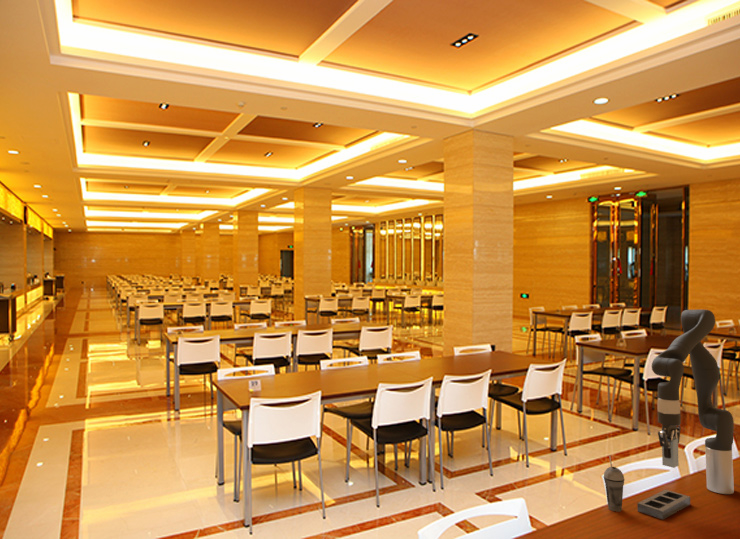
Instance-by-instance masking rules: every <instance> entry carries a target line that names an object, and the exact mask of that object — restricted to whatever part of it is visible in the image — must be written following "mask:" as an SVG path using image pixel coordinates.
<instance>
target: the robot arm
mask: <svg viewBox="0 0 740 539" xmlns="http://www.w3.org/2000/svg"><path fill="white" fill-rule="evenodd" d="M680 323H681V327H682V332H683V333H682V334H681V335H679V336H677V337H676V338H675V339H674V340H673V341H672V342H671V344H670V345H669V346H668V347H667V349H666V350H664V351H663V352H661V353H659V354H658V355H657V356H656V357H655V358H654V359H653V360H652V363H651V370H652V372H653V373H654V374H655V375H657V376H660V377H667V378H669V380H668V381H665V382H663V381H662V382H659V383H658V384H657V403H656V404H657V406H656V407H657V422H658V423H659V424H661V425H662V426H661V431H658V432H657V436H658V441H659V444H660V447H661V448H662V447H664V457H665V458H671V442H672V440H673V438H674V439H678V444H680V437H681V427H679V426H680V425H681V423H682V422H681V420H682V418H681V417H682V416H681V415H682V414H681V403H680V385H681V381H682V378H683V375H684V372H685V367H684V362H685V361H686V359H687V358H688V357H689V359H690V365H691V373H692V377H693V380H694V386H695V392H696V400H697V414H698V418H699V423H700V425H701V426H702V427H703V428H704V429H708V430H711V431H715V432H716V434H715V437H708V438H706V439H705V440H704V444H705V445H704V448H705V449H704V450H705V451H704V453H705V474H706V476H705V477H706V489H707V490H709V491H711V492H714V493H716V494H717V493H718V494H723V495H732V494H734V492H735V487H734V486H735V485H734V464H733V463H734V462H733V460H734V459H733V443H734V432H735V430H734V426H735V422H734V417H733V414H732V413H731V412H730V411H729V410H727V409H722V408H718V407H714V405H713V393H714V391H715V389H716V387H717V385H718V383H719V381H720V379H721V378H720V371H719V366H718V362H717V360H716V358H715V357H714V356H713V355H712V353H711V352H710V351H709V350H708V349H707V348H706V347H705V346H704V344H703V343H702V340H703V339H704V338H705V337H707V336H708V335H709V334H710V333H711V332H712V330H713V329H714V327H715V325H716V317H715V314H714V313H713V311H712V310H710V309H685V310H682V312H681V315H680ZM667 438H668V439H669V440H668V439H667ZM662 441H663V442H662Z"/></svg>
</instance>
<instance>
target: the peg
mask: <svg viewBox="0 0 740 539" xmlns="http://www.w3.org/2000/svg"><path fill="white" fill-rule="evenodd" d="M667 439H668V438H667ZM668 440H669V439H668ZM662 442H663V441H662ZM661 454H662V456H661V457H662V458H661V459H662V462H661V463H662V466H664V467H665V466H666V467H668V468H674V469H675V468H676V467H679V465H680V463H679V443H678V439H674V438H673V440H672V442H671V458H665V457H664V447H662V446H661Z"/></svg>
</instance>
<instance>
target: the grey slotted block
mask: <svg viewBox="0 0 740 539" xmlns="http://www.w3.org/2000/svg"><path fill="white" fill-rule="evenodd" d="M688 506H691V496H689V495H686V494H682V493H679V492H676V491H673V490H669V489H663V490H662V491H660V492H657V493H655V494H653V495H651V496H649V497H647V498H645V499H643V500H640V501H639V502H637V512H639V513H641V514H645V515H648V516H651V517H653V518H656V519H659V520H665V519H666V518H668V517H670V516H672V515H674V514H676V513H678V512H679V510H680V511H682V510H683V509H685V508H686V507H688ZM677 511H678V512H677Z"/></svg>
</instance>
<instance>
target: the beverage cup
mask: <svg viewBox="0 0 740 539" xmlns="http://www.w3.org/2000/svg"><path fill="white" fill-rule="evenodd" d="M608 457H609V463H610V467H607V468H606V469H605V470H604V473H603V480H604V483H605V493H606V500H607V502H606V503H607V507H608V510H609V511H612V512H615V511H616V512H618V513H620V512H622V509H623V496H624V486H625V476H624V474H623V472H622V470H621V469H619V468H618V467H616V466H613V463H612V456H611V455H610V454H609V455H608Z"/></svg>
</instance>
